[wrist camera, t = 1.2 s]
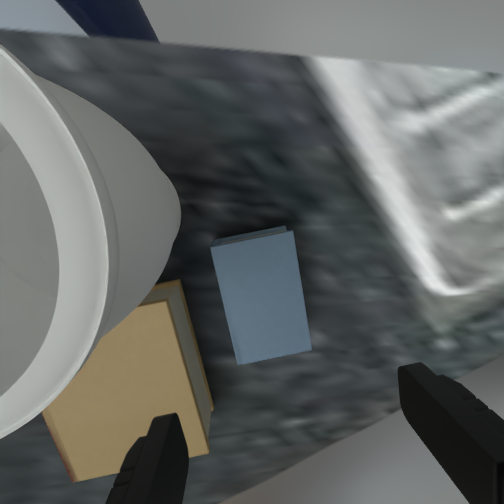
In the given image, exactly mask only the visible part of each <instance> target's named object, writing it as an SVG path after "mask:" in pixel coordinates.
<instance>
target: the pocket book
mask: <svg viewBox="0 0 504 504" xmlns="http://www.w3.org/2000/svg"><path fill="white" fill-rule="evenodd" d="M210 250H211V254H212V258H213V263H214V267H215V271H216V275H217V280H218V284H219V288H220V293H221V297H222V301H223V305H224V310H225V314H226V318H227V323H228V327H229V331H230V335H231V340H232V344H233V348H234V353H235V357H236V361H237V365H242V364H246V363H251V362H256V361H261V360H265V359H270V358H275V357H280V356H285V355H289V354H294V353H299V352H304V351H308V350H312V346H311V340H310V334H309V327H308V321H307V315H306V309H305V302H304V296H303V290H302V284H301V277H300V271H299V265H298V259H297V252H296V246H295V240H294V234H293V231H292V230H290V231H287V230H286V226H280V227H275V228H270V229H265V230H260V231H255V232H250V233H245V234H240V235H235V236H230V237H225V238H220V239H215V240H213V242H212V245H211V247H210Z"/></svg>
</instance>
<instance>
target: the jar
mask: <svg viewBox="0 0 504 504" xmlns="http://www.w3.org/2000/svg"><path fill="white" fill-rule="evenodd" d="M180 222H181V207H180V201H179V198H178V195H177V192H176V190H175V188H174V186H173V184H172V183H171V181H170V180H169V178H168V177H167V176H166V175H165V173H164V172H163V171H162V170H161V169H160V168H159V166H158V165H157V163H156V162H155V160H154V159H153V157H152V156H151V155H150V154H149V152H148V151H147V150H146V149H145V147H144V146H143V145H142V144H141V143H140V142H139V141H138V140H137V139H136V138H135V137H134V136H133V135H132V134H131V133H130V132H129V131H128V130H127V129H126V128H124V127H123V126H122V125H121V124H120V123H118V122H117V121H116V120H115V119H113V118H112V117H111V116H109V115H108V114H107V113H105V112H104V111H102V110H101V109H99V108H98V107H96V106H95V105H93V104H92V103H90V102H88V101H87V100H85V99H83V98H82V97H80V96H78V95H76V94H74V93H73V92H71V91H69V90H67V89H65V88H63V87H61V86H59V85H57V84H55V83H53V82H51V81H48V80H46V79H44V78H42V77H40V76H37V75H35V74H33V73H32V72H31V71H30V70H29V69H28V68H27V67H26V66H25V65H24V64H23V63H22V62H21V61H20V60H18V59H17V58H16V57H15V56H14V55H13V54H12V53H11V52H9V51H8V50H7V49H6V48H5V47H3V46H2V45H1V44H0V439H1V438H3V437H5V436H6V435H8V434H10V433H12V432H13V431H15V430H17V429H18V428H20V427H21V426H23V425H24V424H26V423H27V422H29V421H30V420H31V419H33V418H34V417H35V416H37V415H38V414H39V413H40V412H41V411H43V410H44V409H45V408H46V407H47V406H48V405H49V404H50V403H51V402H52V401H53V400H54V399H55V398H56V397H57V396H58V395H59V394H60V393H61V392H62V391H63V390H64V388H65V387H66V386H67V385H68V384H69V382H70V381H71V380H72V379H73V378H74V377H75V376H76V374H77V373H78V372H79V371H80V370H81V368H82V367H83V366H84V364H85V363H86V361H87V360H88V358H89V357H90V355H91V354H92V352H93V350H94V349H95V347H96V345H97V344H98V342H99V340H100V338H102V337H103V336H104V335H106V334H107V333H108V332H110V331H111V330H112V329H113V328H115V327H116V326H117V325H118V324H119V323H120V322H122V321H123V320H124V319H125V318H126V317H127V316H128V315H129V314H130V313H131V312H132V311H133V310H134V309H135V308H136V307H137V306H138V305H139V304H140V303H141V302H142V301H143V299H144V298H145V297H146V296H147V295H148V293H149V292H150V291H151V289H152V288H153V286H154V285H155V283H156V282H157V280H158V279H159V277H160V275H161V273H162V272H163V270H164V268H165V265H166V263H167V261H168V258H169V255H170V252H171V249H172V245H173V242H174V240H175V238H176V236H177V234H178V231H179V227H180Z"/></svg>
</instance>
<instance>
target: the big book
mask: <svg viewBox="0 0 504 504" xmlns="http://www.w3.org/2000/svg"><path fill="white" fill-rule="evenodd" d="M213 409H214V405H213V401H212V397H211V393H210V390H209V386H208V382H207V378H206V375H205V371H204V367H203V363H202V359H201V356H200V352H199V348H198V344H197V341H196V337H195V333H194V329H193V326H192V322H191V318H190V314H189V311H188V307H187V303H186V299H185V296H184V292H183V288H182V284H181V281H180V279H177V280H173V281H168V282H163V283H158V284H155V285H154V286H153V288H152V289H151V291H150V292H149V293H148V295H147V296H146V297H145V298H144V299H143V301H142V302H141V303H140V304H139V305H138V306H137V307H136V308H135V309H134V310H133V311H132V312H131V313H130V314H129V315H128V316H127V317H126V318H125V319H124V320H123V321H122V322H120V323H119V324H118V325H117V326H116V327H115V328H113V329H112V330H111V331H110V332H108V333H107V334H106V335H104V336H103V337H102V338H100V340H99V342H98V344H97V345H96V347H95V349H94V350H93V352H92V354H91V355H90V357H89V358H88V360H87V361H86V363H85V364H84V366H83V367H82V368H81V370H80V371H79V372H78V373H77V374H76V376H75V377H74V378H73V379H72V380H71V381H70V382H69V384H68V385H67V386H66V387H65V388H64V390H63V391H62V392H61V393H60V394H59V395H58V396H57V397H56V398H55V399H54V400H53V401H52V402H51V403H50V404H49V405H48V406H47V407H46V408H45V409H44V410H43V411H41V413H42V415H43V418H44V420H45V422H46V424H47V427H48V429H49V431H50V433H51V436H52V438H53V440H54V443H55V445H56V447H57V449H58V452H59V454H60V456H61V458H62V461H63V463H64V465H65V468H66V470H67V472H68V474H69V477H70V479H71V481H72V482H77V481H82V480H87V479H91V478H96V477H101V476H105V475H110V474H115V473H119V472H120V468H121V465H122V463H123V461H124V458H125V456H126V454H127V452H128V451H129V449H130V448H131V447H132V445H133V444H134V443H135V442H136V440H137V439H138V438H139V437H142V436H146V435H147V433H148V430H149V427H150V425H151V422H152V420H153V418H154V417H156V416H161V415H165V414H170V413H177V414H178V416H179V419H180V423H181V426H182V429H183V433H184V436H185V439H186V443H187V446H188V452H189V457H194V456H198V455H203V454H208V453H209V450H210V445H209V441H208V434H209V425H210V416H211V411H213Z"/></svg>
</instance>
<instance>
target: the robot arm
mask: <svg viewBox="0 0 504 504" xmlns="http://www.w3.org/2000/svg"><path fill="white" fill-rule="evenodd" d="M398 383H399V395H400V404H401V408H402V411H403V413H404V415H405V417H406V419H407V421H408V422H409V424H410V425H411V426H412V428H413V429H414V430H415V432H416V433H417V435H418V436H419V437H420V439H421V440H422V441H423V442H424V444H425V445H426V446H427V448H428V449H429V450H430V452H431V453H432V454H433V456H434V457H435V458H436V460H437V461H438V462H439V464H440V465H441V466H442V468H443V469H444V470H445V472H446V473H447V474H448V476H449V477H450V478H451V480H452V481H453V482H454V484H455V485H456V486H457V488H458V489H459V490H460V491H461V493H462V494H463V495H464V497H465V498H466V499H467V501H468V502H469V503H470V504H504V420H503V419H502V418H501V417H500V416H498V415H497V414H496V413H495V412H494V411H493V410H490V409H489V408H488V406H487V405H485V404H484V403H483V402H482V401H481V400H479V399H476V397H475V395H473V394H472V393H471V392H470V391H469V390H468V389H466V388H465V387H464V386H463V385H462V384H460V383H458V382H456V381H454V380H453V379H451V378H449V377H447V376H445V375H438V376H437V375H436V374H434V373H433V372H432V371H431V370H430V369H429V368H428V367H427V366H426V365H424V364H423V363H421V362H419V363H414V364H409V365H404V366H400V367H398ZM188 467H189V452H188V446H187V443H186V439H185V436H184V433H183V429H182V426H181V423H180V419H179V416H178V414H177V413H170V414H165V415H161V416H156V417H154V418H153V420H152V422H151V425H150V427H149V430H148V433H147V435H146V436H142V437H139V438H138V439H137V440H136V442H135V443H134V444H133V445H132V447H131V448H130V449H129V451H128V452H127V454H126V456H125V458H124V461H123V463H122V465H121V468H120V473H118V475H117V477H116V480H115V482H114V484H113V485H114V486H113V488H112V489H111V491H110V494H109V496H108V499H107V501H106V503H105V504H182V502H183V496H184V491H185V485H186V479H187V473H188Z"/></svg>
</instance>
